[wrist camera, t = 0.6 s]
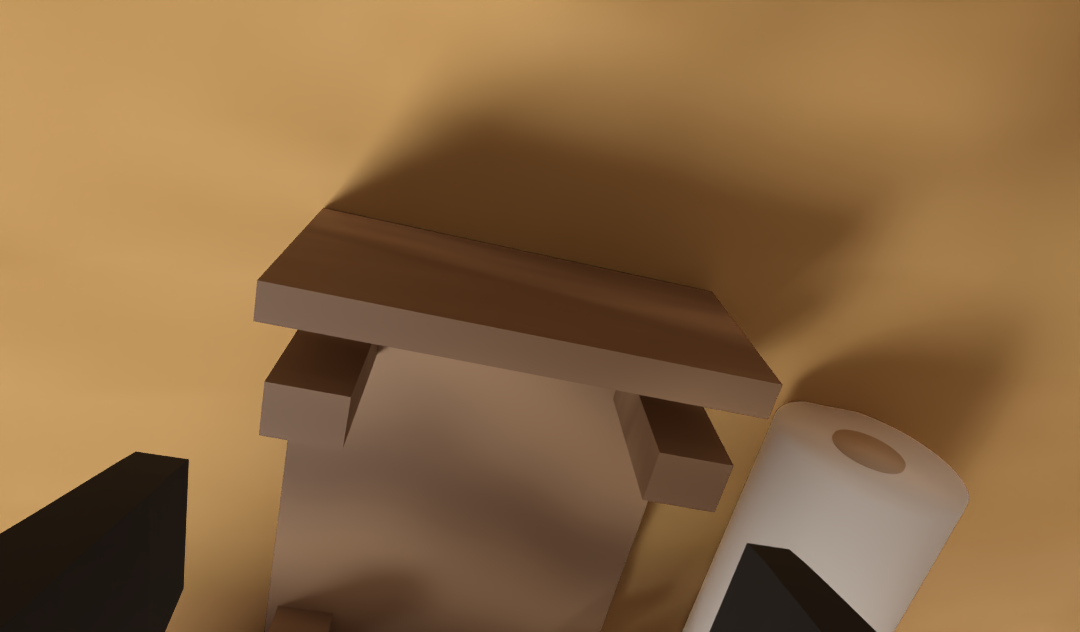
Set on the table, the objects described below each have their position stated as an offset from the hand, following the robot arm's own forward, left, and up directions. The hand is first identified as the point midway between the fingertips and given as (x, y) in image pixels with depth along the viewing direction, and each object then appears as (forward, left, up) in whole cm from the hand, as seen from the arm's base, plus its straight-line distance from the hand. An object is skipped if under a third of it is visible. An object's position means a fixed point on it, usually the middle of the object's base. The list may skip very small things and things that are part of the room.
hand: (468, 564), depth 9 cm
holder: (-6, -1, -10) cm, 12 cm away
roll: (-7, -10, -10) cm, 16 cm away
